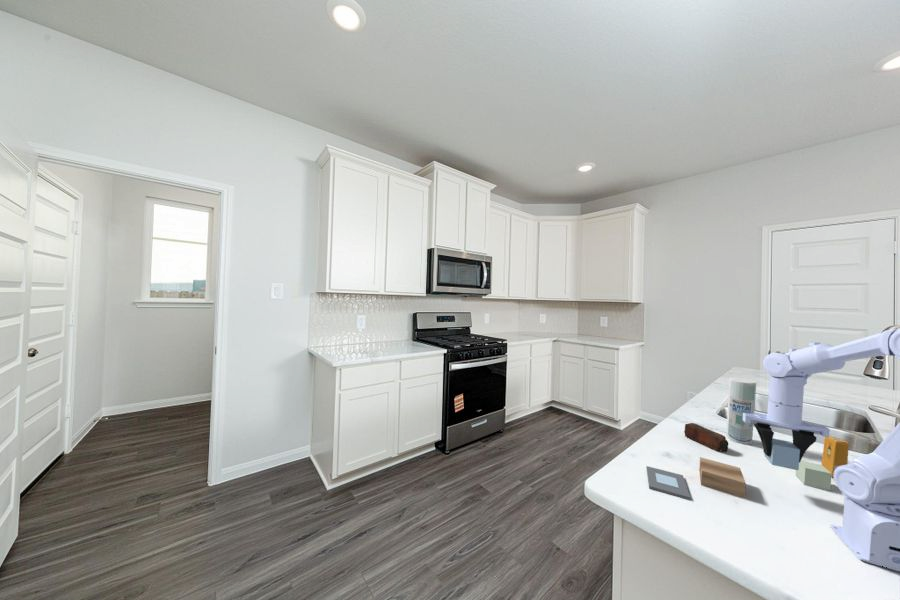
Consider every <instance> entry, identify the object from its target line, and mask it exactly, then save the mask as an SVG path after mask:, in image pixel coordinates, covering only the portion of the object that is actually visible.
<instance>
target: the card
mask: <svg viewBox="0 0 900 600" xmlns="http://www.w3.org/2000/svg"><path fill="white" fill-rule="evenodd" d="M646 473H647V474H646V475H647V482H648V489H650V490H655V491H657V492H660V493H664V494H667V495H670V496H675V497H678V498H682V499H685V500H689V501H691V495H690V493H689V490H688V487H687V484H686V481H685V477H684V475H683V474H679V473H675V472H671V471H667V470H664V469H661V468H657V467H653V466H648V465H646Z"/></svg>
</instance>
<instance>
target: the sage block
mask: <svg viewBox="0 0 900 600" xmlns="http://www.w3.org/2000/svg"><path fill="white" fill-rule="evenodd" d="M795 477H796V478H797V479H798V480H799V481H800V483H802V484H803V486H807V487H813V488H816V489H821V490H825V491H829V492H830V491H831V483H832V477H831V473H830V472H829V471H828V470H827V469H826V468H825V467H823V466H822V464H820V463H814V462H810V461H805V460H801V461H800V463H799V470H795Z"/></svg>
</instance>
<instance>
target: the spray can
mask: <svg viewBox="0 0 900 600" xmlns="http://www.w3.org/2000/svg"><path fill="white" fill-rule="evenodd" d="M756 390H757V382H756V381H754V380H752V379H749V378H743V377H733V376H732V377H729V379H728V394H727V396H728V398H727V415H726V419H727V421H726V434H725V435H726V436H725V437H726V439H728V440H729V439H730V440H729V441H731V440H732V442H734V443H737V444H741V443H742V444H741V445H747V444H749V445H752V444H753V435H754V434H753V433H754V423H745V422H744V421H743V413H749V414H755V404H756V396H757V395H756V393H757V391H756ZM751 443H752V444H751Z"/></svg>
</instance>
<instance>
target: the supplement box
mask: <svg viewBox="0 0 900 600" xmlns="http://www.w3.org/2000/svg"><path fill="white" fill-rule="evenodd" d="M823 439H824V441H823V448H822V449H823V450H822V459H821V465H822V466H823V467H825V468H826V469H827V470H828V471H829V472H830V473H831V479H832V478H833V479H834V475H833V474H834V471H835V469H836V468H837V467H839V466H842V465H847V464H848V460H849V459H848V458H849V449H850V448H849V447H850V442H848V441H846V440H844V439H841V438H839V437H836V436H830V435H829V437H825V436H824V438H823Z"/></svg>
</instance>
